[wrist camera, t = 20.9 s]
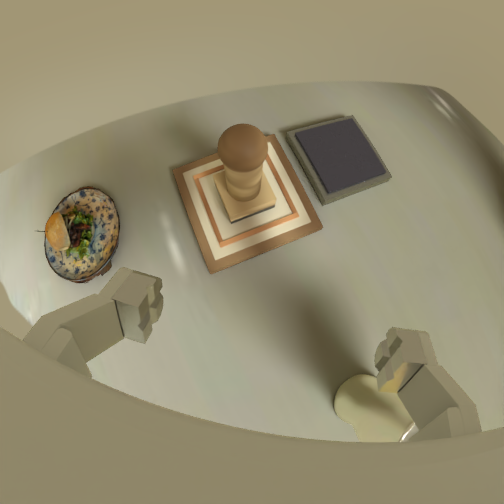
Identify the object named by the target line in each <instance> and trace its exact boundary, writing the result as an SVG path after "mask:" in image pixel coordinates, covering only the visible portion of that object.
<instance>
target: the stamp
mask: <svg viewBox="0 0 504 504" xmlns="http://www.w3.org/2000/svg"><path fill="white" fill-rule="evenodd" d="M267 153H268V143H267V139H266V137H265V136H264V134H263V133H262V132H261V131H260V130H259V129H258V128H256V127H255V126H252V125H249V124H237V125H234V126H231V127H230V128H228V129H227V130H226V131H225V132H224V133H223V134H222V135H221V137H220V139H219V142H218V155H219V158H220V160H221V161H222V163H223V164H224V170H225V171H222V172H220V173H217V174H214V175H213V178H214V183H215V186H216V188H217V191H218V193H219V196H220V198H221V201H222V203H223V205H224V208H225V210H226V213H227V215H228V218H229V220H230V222H231V224H233V223H235V222H238V221H241V220H243V219H246V218H248V217H251V216H253V215H256V214H259V213H261V212H264V211H267V210H269V209H272V208H274V207H275V203H276V197H275V195H274V192H273V190H272V188H271V186H270V184H269V182H268V180H267V178H266V176H265V174H264V172H263V170H262V169H263V162H264V161H265V159H266V157H267Z"/></svg>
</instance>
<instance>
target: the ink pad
mask: <svg viewBox="0 0 504 504" xmlns="http://www.w3.org/2000/svg"><path fill="white" fill-rule="evenodd" d="M286 139H287V141H288V143H289V145H290V146H291V148H292V150H293V152H294V153H295V155H296V157H297V159H298V160H299V162H300V164H301V166H302V168H303V170H304V171H305V173H306V175H307V177H308V179H309V181H310V183H311V184H312V186H313V188H314V190H315V192H316V194H317V196H318V198H319V200H320V202H321V204H322V206H323V205H326V204H329V203H331V202H334V201H337V200H339V199H342V198H345V197H347V196H350V195H352V194H355V193H358V192H360V191H363V190H366V189H369V188H371V187H374V186H377V185H379V184H382V183H385V182H387V181H388V180H389V179H390V178H391V177H392V176H391V174H390V172H389V171H388V169H387V167H386V166H385V164H384V162H383V161H382V159H381V157H380V156H379V154H378V152H377V151H376V149H375V148H374V146H373V145H372V143H371V141H370V140H369V138H368V137H367V135H366V134H365V132H364V131H363V129H362V128H361V126H360V125H359V124H358V122H357V121H356V119H355V118H354V116H353V115H351V116H347V117H342V118H338V119H334V120H330V121H326V122H322V123H318V124H314V125H310V126H306V127H303V128H299V129H295V130H292V131H288V132H287V135H286Z"/></svg>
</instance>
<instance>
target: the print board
mask: <svg viewBox="0 0 504 504" xmlns="http://www.w3.org/2000/svg"><path fill="white" fill-rule="evenodd" d="M266 139H267V143H268V153H267V157H266V159H265V161H264V162H263V169H262V170H263V172H264V174H265V176H266V178H267V180H268V182H269V184H270V186H271V188H272V190H273V192H274V195H275V197H276V203H275V207H274V208H272V209H269V210H267V211H264V212H261V213H259V214H256V215H253V216H251V217H248V218H246V219H243V220H241V221H238V222H235V223H233V224H231V222H230V220H229V218H228V215H227V213H226V210H225V208H224V205H223V203H222V201H221V198H220V196H219V193H218V191H217V188H216V186H215V183H214V178H213V175H214V174H217V173H220V172H222V171H225V170H224V164H223V163H222V161H221V160H220V158H219V155H218V153H215V154H212V155H210V156H207V157H204V158H202V159H199V160H196V161H194V162H191V163H189V164H186V165H184V166H181V167H179V168H176V169H174V170H173V173H174V176H175V179H176V182H177V185H178V188H179V191H180V194H181V197H182V199H183V202H184V205H185V208H186V211H187V213H188V216H189V219H190V222H191V225H192V227H193V230H194V233H195V235H196V238H197V241H198V243H199V246H200V249H201V251H202V254H203V257H204V259H205V262H206V264H207V267H208V270H209V272H210V274H213V273H216V272H218V271H221V270H223V269H226V268H228V267H231V266H233V265H236V264H238V263H240V262H243V261H245V260H248V259H250V258H253V257H255V256H258V255H260V254H263V253H265V252H268V251H270V250H272V249H275V248H277V247H280V246H282V245H285V244H287V243H290V242H292V241H295V240H297V239H299V238H302V237H304V236H307V235H309V234H312V233H314V232H317V231H319V230H321V229H322V228H323V226H322V224H321V222H320V220H319V218H318V216H317V214H316V212H315V210H314V208H313V206H312V204H311V202H310V200H309V198H308V196H307V194H306V192H305V190H304V188H303V186H302V184H301V182H300V180H299V179H298V177H297V175H296V173H295V171H294V169H293V167H292V165H291V164H290V162H289V160H288V158H287V156H286V154H285V153H284V151H283V149H282V147H281V145H280V144H279V142H278V140H277V138H276V137H275V135H274V134H272V135H269V136H266Z"/></svg>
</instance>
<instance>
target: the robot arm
mask: <svg viewBox="0 0 504 504" xmlns="http://www.w3.org/2000/svg"><path fill="white" fill-rule="evenodd" d="M161 289H162V279H160V278H159V277H155V276H152V275H148V274H145V273H142V272H139V271H134V270H131V269H128V268H125V267H123V268H120V269H119V270H118V271H117V272H116V274H115V275H114V276H113V277H112V278H111V280H110V281H109V282H108V283H107V285H106V286H105V287H104V288H103V289H102V291H101V292H100V293H99V294H98V295H97V294H93V295H91V296H88V297H86V298H83V299H81V300H79V301H76V302H74V303H71V304H69V305H67V306H64V307H62V308H60V309H57V310H55V311H53V312H50V313H48V314H46V315H43V316H41V318H40V319H39V320H38V321H37V323H36V324H35V325H34V326H33V327H32V329H31V330H30V331H29V333H28V334H27V335H26V336H25V338H24V339H23V340H21V339H19V338H18V337H16V336H15V335H13V334H12V333H10V332H9V331H7V330H6V329H4V328H3V327H2V326H0V504H504V427H502V428H498V429H494V430H489V431H484V432H482V431H481V426H480V421H479V417H478V413H477V409H476V405H475V404H474V403H473V401H472V400H471V399H470V398H469V397H468V395H467V394H466V393H465V392H464V391H463V390H462V388H461V387H460V386H459V385H458V384H457V383H456V382H455V380H454V379H453V378H452V377H451V376H450V375H449V374H448V373H447V371H446V370H445V369H444V368H443V367H442V366H439V365H438V362H437V359H436V356H435V352H434V349H433V346H432V343H431V340H430V337H429V334H428V333H427V332H426V331H418V330H409V329H402V328H395V327H392V328H390V329H389V330H388V332H387V333H386V337H387V339H386V340H384V341H382V342H380V344H379V346H378V347H377V349H376V353H375V359H374V362H375V367H376V368H377V370H378V371H379V373H378V375H377V376H376V378H377V386H378V391H379V392H389V393H398V394H397V395H398V397H399V398H400V400H401V401H402V403H403V405H404V406H405V408H406V410H407V411H408V413H409V415H410V416H411V418H412V420H413V421H414V423H415V425H416V426H417V428H418V430H419V431H418V432H417V433H415V434H414V435H413V436H411V437H410V438H409V441H407V442H342V441H327V440H315V439H305V438H297V437H289V436H282V435H275V434H269V433H263V432H258V431H252V430H247V429H242V428H237V427H233V426H228V425H224V424H220V423H216V422H212V421H208V420H204V419H201V418H197V417H193V416H190V415H186V414H183V413H180V412H177V411H173V410H170V409H167V408H164V407H161V406H158V405H155V404H153V403H150V402H147V401H144V400H141V399H139V398H136V397H134V396H131V395H129V394H126V393H124V392H121V391H119V390H116V389H114V388H112V387H109V386H107V385H105V384H102V383H100V382H98V381H96V380H94V379H92V374H91V372H90V370H89V368H88V366H87V364H86V362H88V361H89V360H91V359H93V358H94V357H96V356H97V355H99V354H100V353H102V352H103V351H105V350H107V349H108V348H110V347H111V346H113V345H114V344H116V343H117V342H119V341H121V340H122V339H124V337H125V338H128V339H131V340H134V341H137V342H140V343H144V344H145V343H146V341H147V339H148V338H149V336H150V334H151V332H152V324H153V323H155V322H157V321H158V319H159V317H160V315H161V312H162V309H163V296H162V294H161V293H160V290H161Z"/></svg>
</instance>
